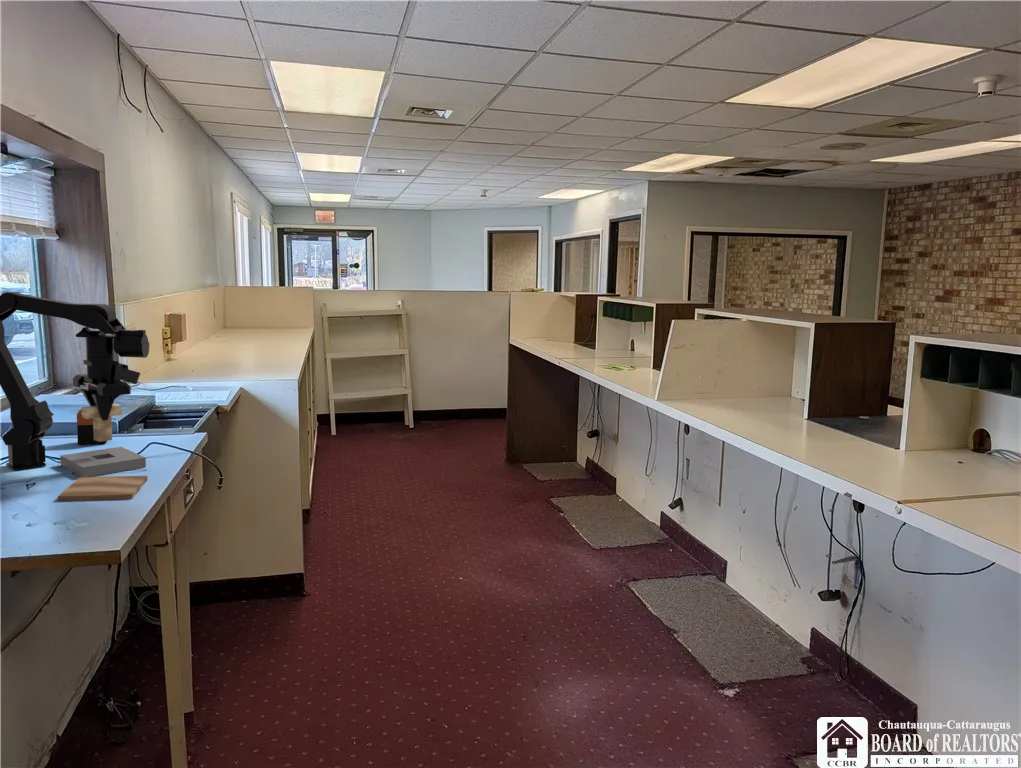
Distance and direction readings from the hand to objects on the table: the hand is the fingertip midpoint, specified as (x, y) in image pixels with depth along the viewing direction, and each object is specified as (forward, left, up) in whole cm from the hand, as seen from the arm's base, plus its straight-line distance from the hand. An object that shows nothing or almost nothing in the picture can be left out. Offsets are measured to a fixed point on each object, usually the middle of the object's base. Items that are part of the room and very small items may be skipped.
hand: (102, 419), depth 165 cm
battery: (+7, +25, -12) cm, 29 cm away
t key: (0, 0, -5) cm, 5 cm away
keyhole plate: (0, 0, -12) cm, 12 cm away
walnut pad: (-7, -19, -12) cm, 24 cm away
